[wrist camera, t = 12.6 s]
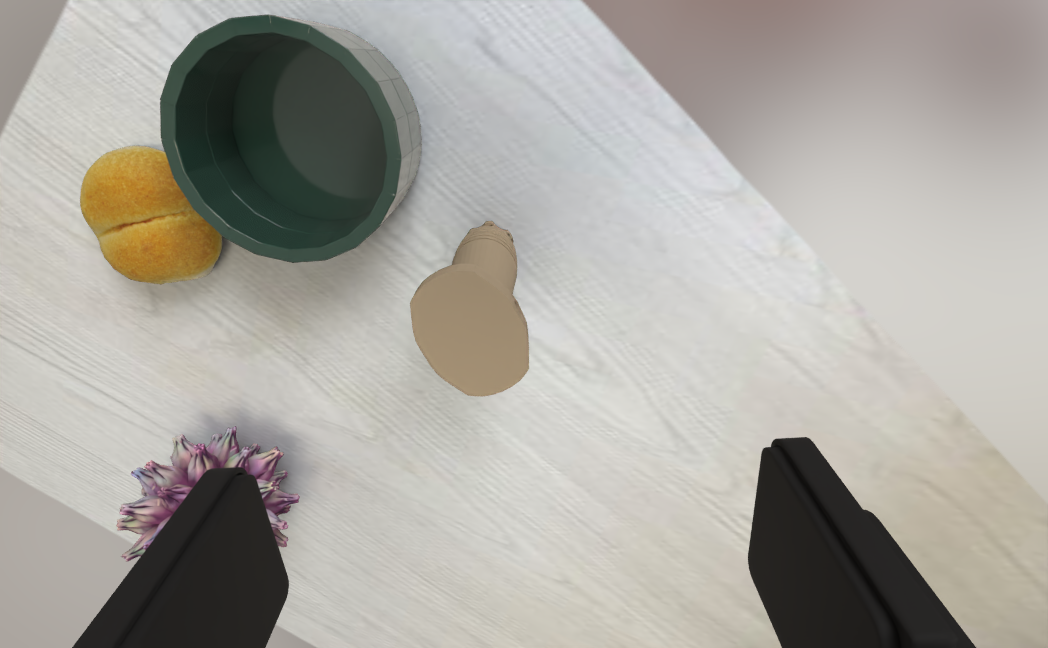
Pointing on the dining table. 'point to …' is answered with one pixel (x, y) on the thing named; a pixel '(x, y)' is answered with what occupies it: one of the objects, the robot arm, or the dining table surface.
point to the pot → (289, 135)
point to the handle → (474, 316)
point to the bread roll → (146, 218)
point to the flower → (189, 464)
